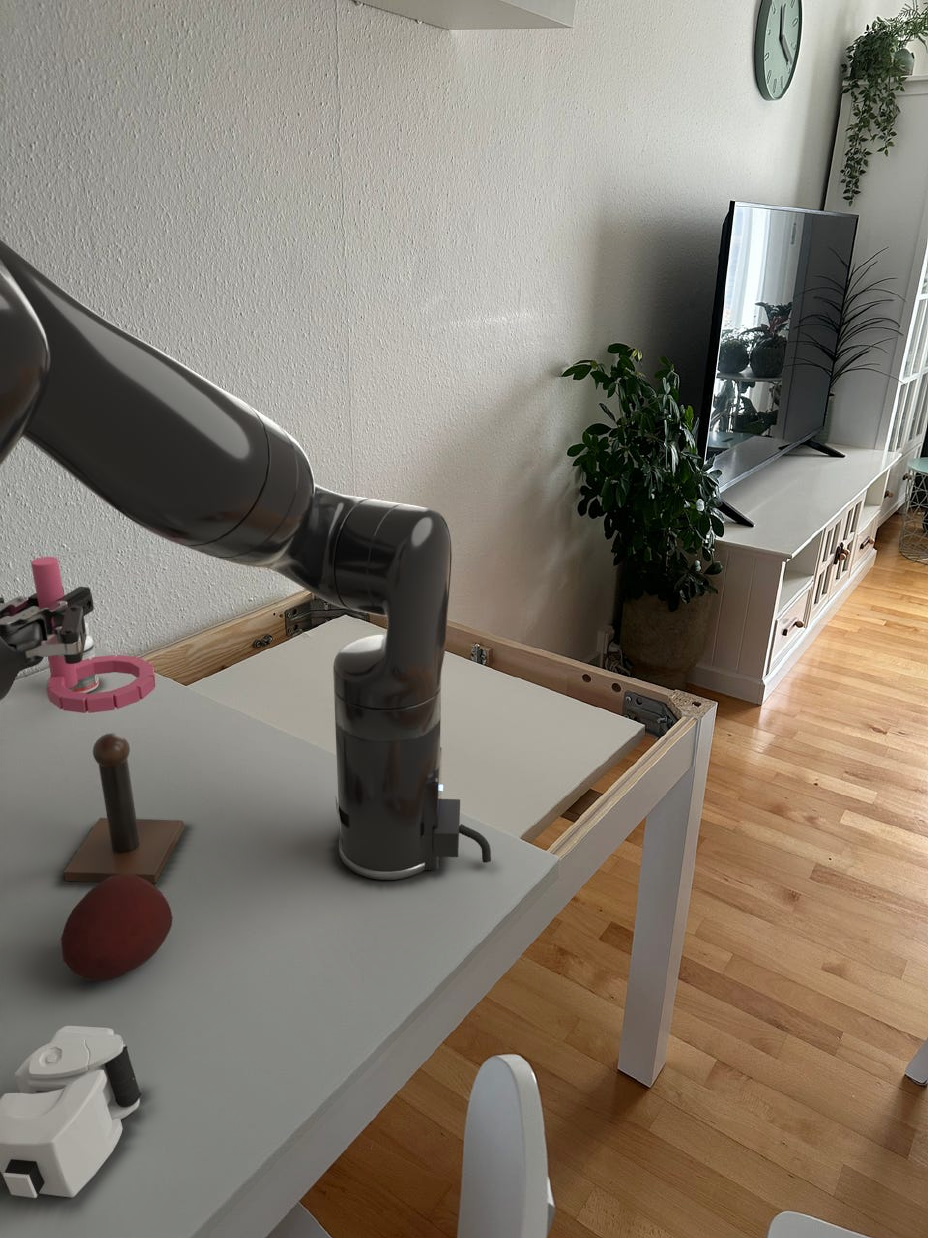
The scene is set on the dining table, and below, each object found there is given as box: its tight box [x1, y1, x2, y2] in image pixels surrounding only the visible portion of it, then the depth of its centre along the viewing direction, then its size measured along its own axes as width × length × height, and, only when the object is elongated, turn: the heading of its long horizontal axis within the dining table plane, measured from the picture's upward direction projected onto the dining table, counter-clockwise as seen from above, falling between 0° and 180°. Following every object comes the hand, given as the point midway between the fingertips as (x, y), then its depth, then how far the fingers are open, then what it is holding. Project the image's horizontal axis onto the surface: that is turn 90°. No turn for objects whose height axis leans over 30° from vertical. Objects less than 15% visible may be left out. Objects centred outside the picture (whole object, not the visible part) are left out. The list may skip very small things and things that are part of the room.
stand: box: [63, 732, 185, 885], centre depth 80 cm, size 8×8×12 cm
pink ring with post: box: [30, 556, 156, 714], centre depth 74 cm, size 9×8×11 cm
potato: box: [60, 874, 173, 982], centre depth 69 cm, size 7×8×7 cm
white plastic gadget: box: [0, 1025, 142, 1199], centre depth 55 cm, size 6×7×10 cm
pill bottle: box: [67, 621, 100, 693], centre depth 110 cm, size 5×5×8 cm
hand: (73, 596), depth 77 cm, fingers closed on pink ring with post
